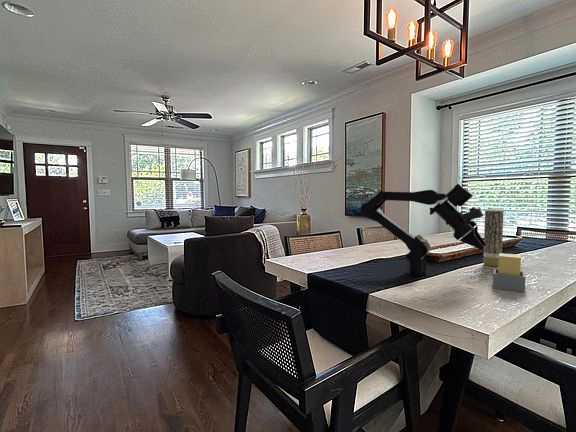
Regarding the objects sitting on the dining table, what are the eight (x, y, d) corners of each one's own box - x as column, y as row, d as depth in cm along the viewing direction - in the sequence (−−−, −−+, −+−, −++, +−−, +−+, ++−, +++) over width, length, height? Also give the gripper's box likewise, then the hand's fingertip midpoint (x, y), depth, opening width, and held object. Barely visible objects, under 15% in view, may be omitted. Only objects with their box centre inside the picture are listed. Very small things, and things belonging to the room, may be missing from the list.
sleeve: (492, 287, 106) (493, 273, 106) (493, 281, 113) (494, 268, 113) (524, 292, 101) (525, 277, 101) (524, 285, 108) (524, 271, 108)
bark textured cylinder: (505, 267, 136) (507, 209, 134) (489, 267, 136) (491, 210, 134) (494, 263, 142) (496, 209, 141) (480, 263, 142) (481, 209, 141)
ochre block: (497, 287, 107) (498, 255, 106) (498, 283, 112) (499, 253, 111) (519, 290, 103) (520, 257, 102) (519, 286, 108) (520, 254, 107)
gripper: (465, 200, 105) (503, 235, 99) (471, 199, 120) (504, 229, 115) (439, 222, 110) (474, 257, 105) (448, 219, 125) (479, 248, 120)
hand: (484, 247), depth 111 cm, fingers open, 9 cm apart
